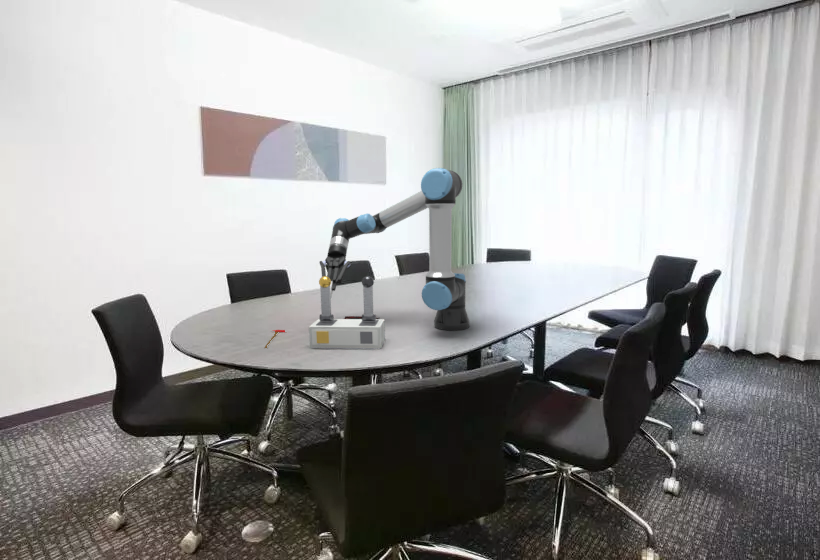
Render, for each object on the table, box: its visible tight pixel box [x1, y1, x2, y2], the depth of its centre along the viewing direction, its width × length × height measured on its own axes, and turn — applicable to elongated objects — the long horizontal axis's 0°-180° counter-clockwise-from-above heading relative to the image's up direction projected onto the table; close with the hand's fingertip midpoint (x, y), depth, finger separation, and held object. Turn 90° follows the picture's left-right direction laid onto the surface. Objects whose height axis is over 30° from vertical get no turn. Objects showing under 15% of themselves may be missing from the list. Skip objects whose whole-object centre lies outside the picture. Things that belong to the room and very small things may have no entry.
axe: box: [264, 329, 286, 349], centre depth 175 cm, size 26×1×10 cm
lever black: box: [361, 275, 377, 321], centre depth 163 cm, size 5×4×17 cm
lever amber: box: [318, 275, 335, 321], centre depth 164 cm, size 5×4×17 cm
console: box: [308, 318, 386, 350], centre depth 166 cm, size 26×12×8 cm, turn 85°
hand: (328, 296), depth 171 cm, fingers closed
